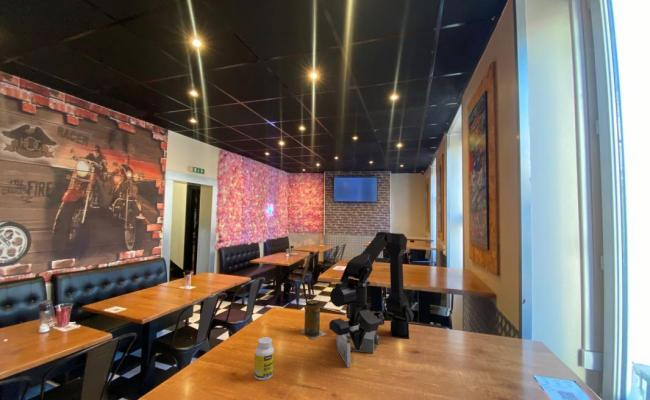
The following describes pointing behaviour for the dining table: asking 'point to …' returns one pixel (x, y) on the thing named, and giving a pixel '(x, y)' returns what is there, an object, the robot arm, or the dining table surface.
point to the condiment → (312, 320)
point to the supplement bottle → (264, 359)
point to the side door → (344, 348)
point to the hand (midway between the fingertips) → (357, 349)
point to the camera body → (365, 342)
